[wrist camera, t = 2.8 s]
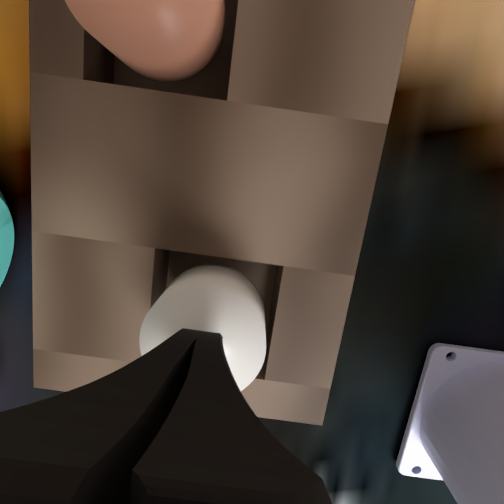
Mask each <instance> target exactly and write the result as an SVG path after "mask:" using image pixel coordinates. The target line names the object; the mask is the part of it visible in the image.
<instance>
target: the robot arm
mask: <svg viewBox="0 0 504 504" xmlns="http://www.w3.org/2000/svg"><path fill="white" fill-rule="evenodd" d="M449 352H452V354H451V356H449V357H446V355H447V354H448V353H449ZM396 466H397V468H398V470H399V472H400V473H401V474H402V475H406V476H413V477H421V478H429V479H436V480H444V482H445V484H446V485H447V487H448V488H449V490H450V492H451V493H452V495H453V497H454V498H455V500H456V502H457V503H458V504H504V352H503V351H495V350H488V349H481V348H473V347H466V346H459V345H451V344H444V343H436V344H433V345H432V346H431V347H430V348H429V350H428V353H427V357H426V360H425V364H424V367H423V371H422V374H421V378H420V381H419V384H418V388H417V391H416V395H415V398H414V402H413V405H412V409H411V412H410V416H409V419H408V423H407V426H406V430H405V433H404V437H403V440H402V444H401V447H400V451H399V454H398V458H397V461H396ZM415 466H416V467H415ZM413 467H415V468H413ZM0 504H332V502H331V499H330V497H329V494H328V492H327V489H326V487H325V484H324V482H323V480H322V479H321V477H319V476H318V475H317V474H316V473H314V472H313V471H312V470H311V469H310V468H308V467H307V466H306V465H305V464H303V463H302V462H301V461H300V460H299V459H297V458H296V457H295V456H294V455H292V454H291V453H290V452H289V451H288V450H287V449H286V448H285V447H284V446H283V445H282V444H281V443H280V442H279V441H278V440H277V439H276V438H275V437H274V436H273V435H272V434H271V433H270V432H269V431H268V429H267V428H266V427H265V426H264V425H263V423H262V422H261V421H260V420H259V419H258V417H257V416H256V415H255V413H254V412H253V410H252V409H251V407H250V406H249V404H248V403H247V401H246V400H245V398H244V396H243V395H242V393H241V391H240V389H239V387H238V385H237V383H236V381H235V379H234V377H233V375H232V372H231V370H230V367H229V364H228V362H227V359H226V356H225V352H224V348H223V337H222V335H221V334H220V333H214V332H207V331H199V330H192V329H185V328H182V329H181V330H179V331H178V332H176V333H175V334H173V335H172V336H171V337H169V338H168V339H166V340H165V341H164V342H162V343H161V344H159V345H158V346H156V347H155V348H153V349H152V350H151V351H149V352H148V353H146V354H144V355H143V356H141V357H139V358H137V359H136V360H134V361H132V362H131V363H129V364H127V365H126V366H124V367H122V368H120V369H118V370H116V371H114V372H112V373H110V374H108V375H106V376H104V377H102V378H100V379H97V380H95V381H93V382H91V383H88V384H86V385H83V386H81V387H78V388H75V389H73V390H70V391H67V392H65V393H62V394H59V395H57V396H54V397H51V398H48V399H45V400H41V401H38V402H35V403H32V404H28V405H25V406H21V407H18V408H14V409H10V410H7V411H3V412H0Z"/></svg>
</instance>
